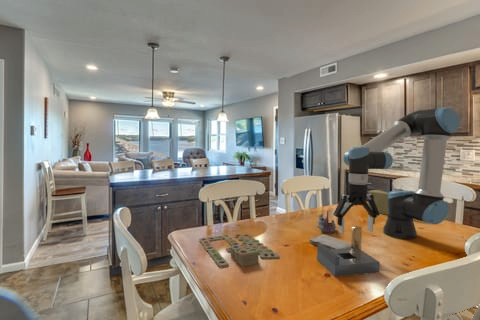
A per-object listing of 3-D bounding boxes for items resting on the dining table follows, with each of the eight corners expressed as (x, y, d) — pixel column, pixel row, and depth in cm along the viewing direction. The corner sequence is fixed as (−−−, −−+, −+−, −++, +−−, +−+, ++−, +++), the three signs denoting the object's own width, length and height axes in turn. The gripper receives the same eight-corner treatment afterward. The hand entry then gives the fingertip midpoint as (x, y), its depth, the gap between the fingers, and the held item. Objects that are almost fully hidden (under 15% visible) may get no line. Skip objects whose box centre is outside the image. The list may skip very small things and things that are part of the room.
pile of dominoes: (282, 259, 111) (282, 246, 111) (221, 272, 100) (221, 258, 100) (247, 233, 143) (247, 223, 142) (198, 241, 132) (197, 230, 132)
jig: (356, 256, 113) (357, 240, 112) (379, 272, 99) (379, 254, 98) (317, 259, 109) (317, 243, 109) (334, 276, 96) (335, 257, 95)
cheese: (406, 217, 171) (407, 194, 170) (396, 219, 167) (397, 195, 166) (376, 209, 191) (377, 189, 190) (367, 211, 187) (367, 190, 186)
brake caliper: (340, 230, 138) (326, 211, 140) (322, 240, 142) (309, 222, 144) (340, 224, 149) (327, 206, 151) (323, 234, 152) (311, 216, 154)
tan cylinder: (357, 252, 117) (358, 225, 116) (362, 256, 113) (363, 228, 112) (349, 252, 116) (349, 226, 115) (354, 256, 112) (355, 229, 112)
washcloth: (322, 238, 135) (322, 232, 135) (355, 249, 121) (355, 243, 121) (307, 243, 128) (307, 237, 128) (340, 256, 114) (341, 249, 114)
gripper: (335, 185, 107) (333, 236, 108) (390, 184, 111) (387, 233, 112) (326, 182, 114) (324, 230, 115) (378, 181, 118) (375, 228, 120)
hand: (355, 232), depth 114 cm, fingers open, 13 cm apart
